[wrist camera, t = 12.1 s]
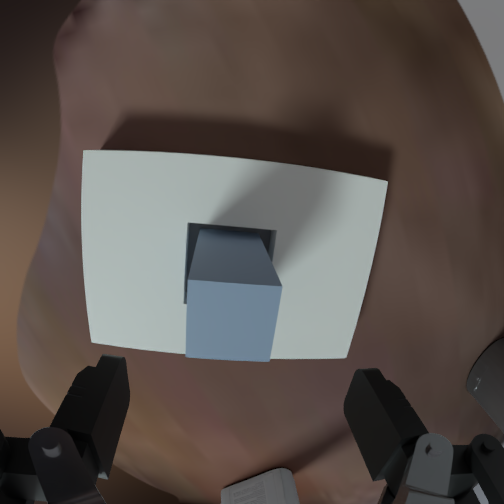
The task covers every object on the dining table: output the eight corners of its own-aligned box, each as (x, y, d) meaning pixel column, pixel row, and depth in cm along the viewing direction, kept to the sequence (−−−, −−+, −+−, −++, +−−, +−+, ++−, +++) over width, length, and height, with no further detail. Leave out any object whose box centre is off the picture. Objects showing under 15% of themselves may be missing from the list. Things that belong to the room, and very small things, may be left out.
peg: (258, 233, 22) (282, 286, 14) (251, 286, 23) (269, 361, 15) (200, 228, 22) (187, 279, 13) (196, 282, 23) (185, 357, 14)
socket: (369, 177, 23) (388, 181, 20) (334, 338, 27) (345, 358, 24) (99, 149, 20) (83, 150, 17) (102, 323, 24) (91, 342, 22)
